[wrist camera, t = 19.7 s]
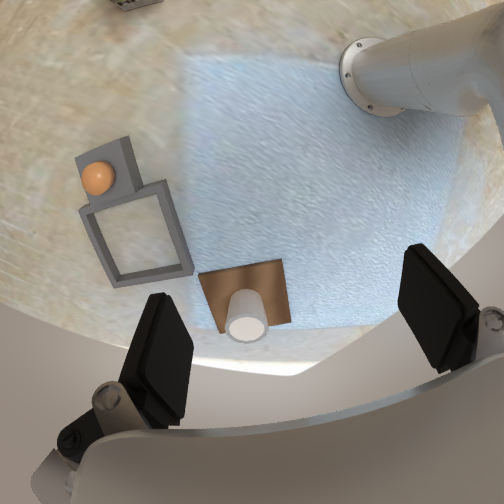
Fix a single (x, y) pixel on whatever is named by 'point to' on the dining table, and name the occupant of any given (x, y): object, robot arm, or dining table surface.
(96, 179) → the orange rounded piece
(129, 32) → the dining table surface
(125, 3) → the coffee box
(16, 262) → the dining table surface
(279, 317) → the walnut mat
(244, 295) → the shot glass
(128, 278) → the housing
